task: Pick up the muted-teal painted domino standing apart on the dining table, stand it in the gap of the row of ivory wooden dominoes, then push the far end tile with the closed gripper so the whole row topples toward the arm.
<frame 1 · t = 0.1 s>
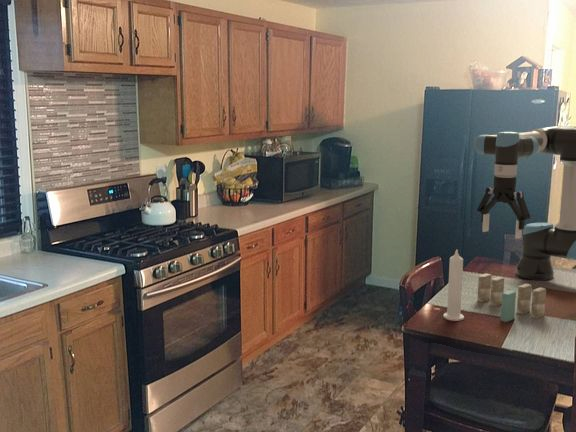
hand: (501, 234, 211), 28 cm above the table, fingers open, 13 cm apart
tile 4: (496, 304, 222), on the table
tile 2: (523, 312, 213), on the table
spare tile: (507, 319, 206), on the table
candle: (453, 318, 208), on the table
tile 1: (537, 316, 209), on the table
tile 5: (483, 300, 226), on the table
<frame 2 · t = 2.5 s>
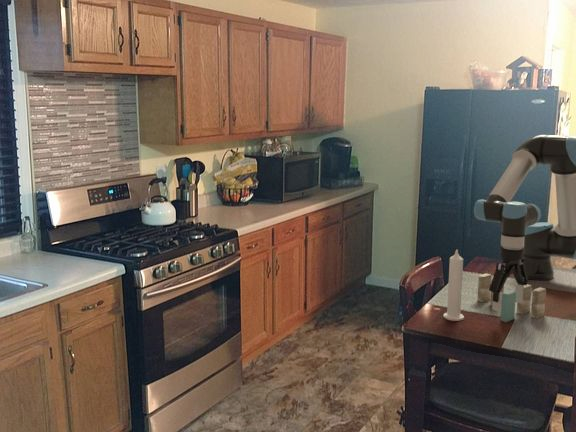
hand: (507, 306, 205), 5 cm above the table, fingers open, 13 cm apart
tile 2: (523, 312, 213), on the table, touching gripper
everything else where it was.
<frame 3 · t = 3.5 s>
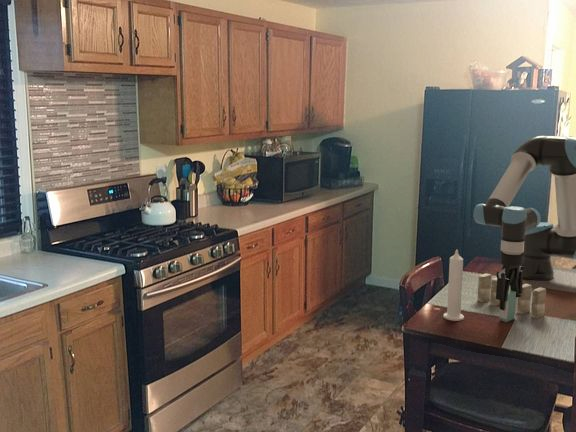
hand: (507, 316, 206), 1 cm above the table, fingers closed on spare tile, 5 cm apart
tile 2: (523, 312, 213), on the table
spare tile: (507, 319, 206), on the table, touching gripper
everything else where it was.
when the fingers open (2 cm above the table, at t = 9.1 s): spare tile stays where it is, on the table.
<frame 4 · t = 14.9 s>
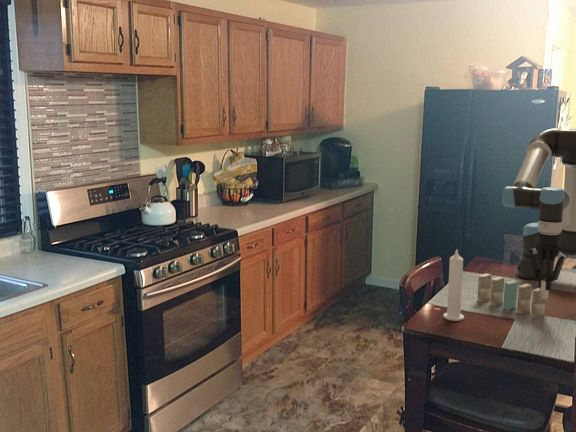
hand: (544, 298, 206), 7 cm above the table, fingers closed
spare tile: (509, 307, 217), on the table
tile 1: (537, 316, 209), on the table, touching gripper
everything else where it was.
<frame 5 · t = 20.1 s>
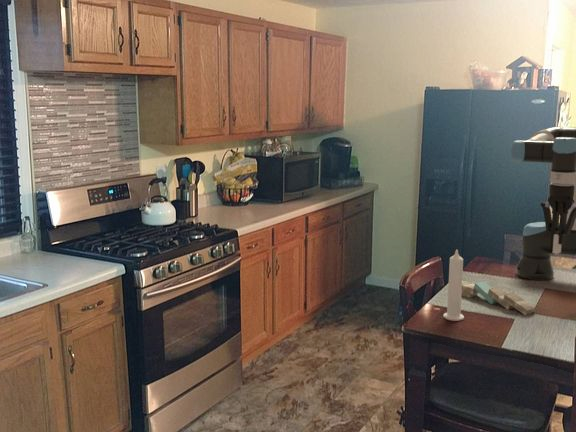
hand: (556, 252, 200), 24 cm above the table, fingers closed
tile 4: (477, 290, 229), point 3 cm above the table, tilted 90°, touching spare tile, tile 5
tile 2: (513, 306, 216), point 1 cm above the table, tilted 69°, touching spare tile, tile 1
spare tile: (496, 301, 222), point 1 cm above the table, tilted 67°, touching tile 2, tile 4
tile 1: (530, 311, 211), point 1 cm above the table, tilted 71°, touching tile 2
tile 5: (473, 295, 230), point 1 cm above the table, tilted 90°, touching tile 4
everything else where it was.
at the end: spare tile inside the target area (4.6 cm from its centre), point 1.0 cm above the table; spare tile tilted 67°; tile 5 tilted 90° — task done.
